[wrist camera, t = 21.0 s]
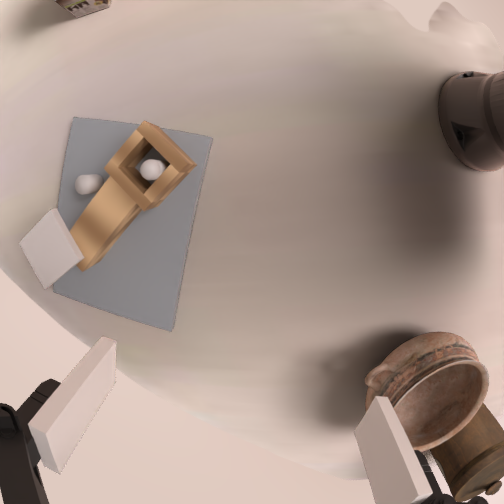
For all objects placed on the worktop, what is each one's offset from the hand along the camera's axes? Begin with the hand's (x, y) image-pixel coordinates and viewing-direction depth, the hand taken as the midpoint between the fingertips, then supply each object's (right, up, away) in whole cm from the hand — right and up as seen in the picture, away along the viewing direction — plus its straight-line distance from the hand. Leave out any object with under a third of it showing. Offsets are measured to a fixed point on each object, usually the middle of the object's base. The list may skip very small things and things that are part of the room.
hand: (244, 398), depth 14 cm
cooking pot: (+26, -12, +30) cm, 41 cm away
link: (-15, +13, +23) cm, 31 cm away
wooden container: (+43, -29, +34) cm, 62 cm away
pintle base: (-18, +11, +25) cm, 33 cm away
